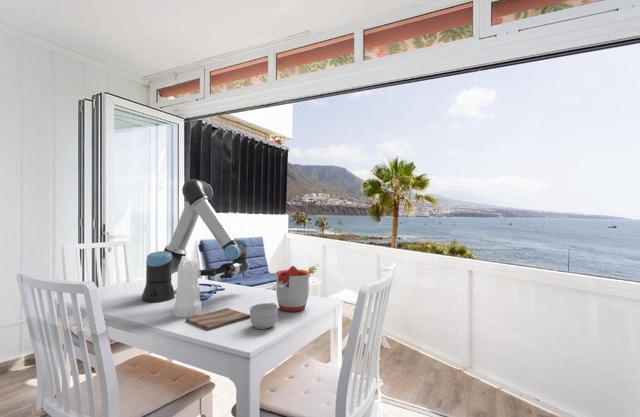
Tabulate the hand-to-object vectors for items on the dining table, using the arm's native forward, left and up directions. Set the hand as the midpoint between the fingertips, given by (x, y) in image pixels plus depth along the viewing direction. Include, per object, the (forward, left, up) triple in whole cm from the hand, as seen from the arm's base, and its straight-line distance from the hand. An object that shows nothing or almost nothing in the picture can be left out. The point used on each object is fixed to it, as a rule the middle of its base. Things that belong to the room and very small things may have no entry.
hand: (202, 277), depth 154 cm
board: (+20, -5, -14) cm, 25 cm away
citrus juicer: (+32, +26, -14) cm, 44 cm away
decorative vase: (+3, -9, -14) cm, 18 cm away
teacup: (+40, +3, -14) cm, 43 cm away
